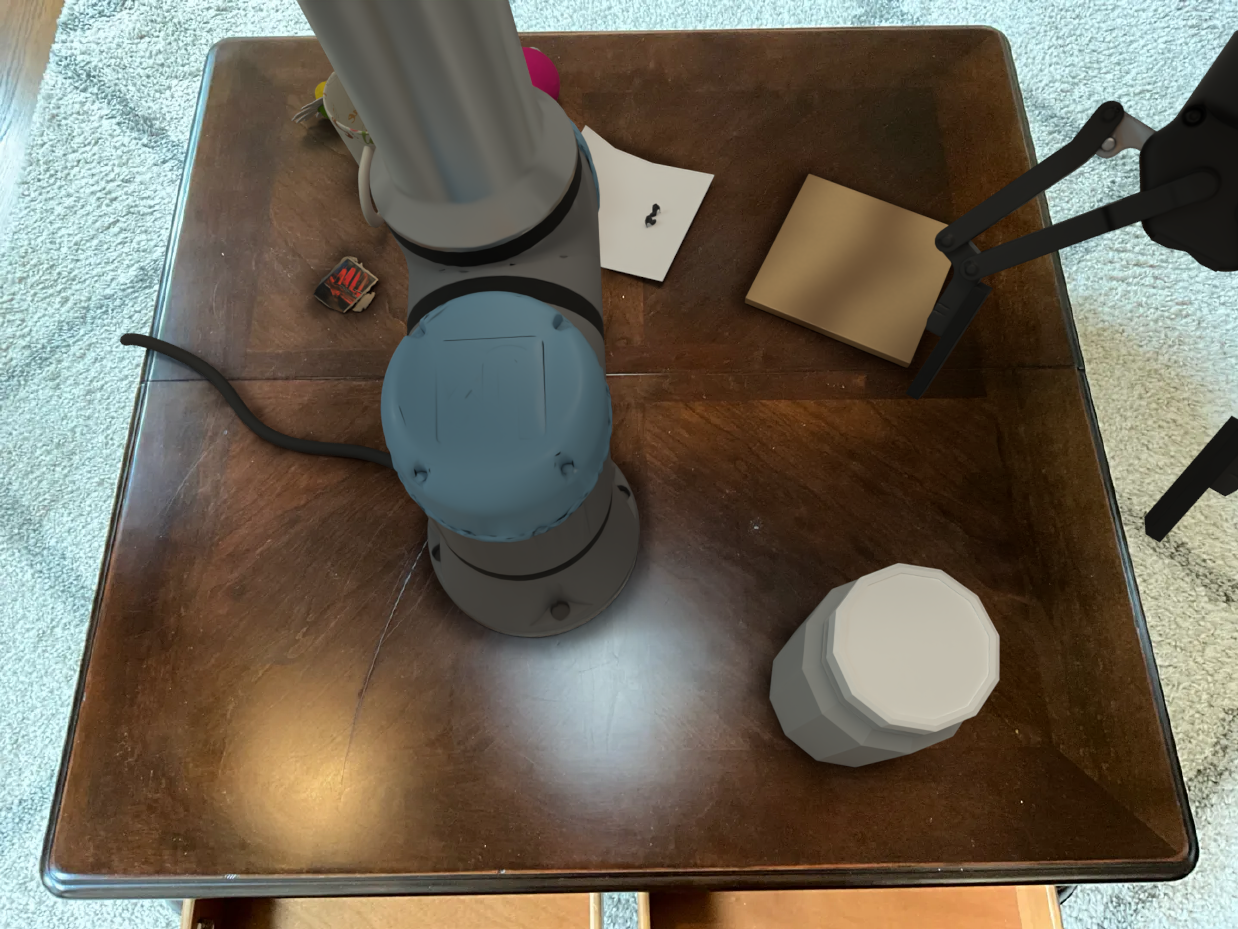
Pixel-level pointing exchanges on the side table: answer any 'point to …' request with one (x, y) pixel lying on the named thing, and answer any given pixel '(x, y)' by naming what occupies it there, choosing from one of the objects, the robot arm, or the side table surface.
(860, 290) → the cork mat
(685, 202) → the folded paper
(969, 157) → the side table surface
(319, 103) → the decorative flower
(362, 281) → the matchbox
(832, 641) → the jar
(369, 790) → the side table surface
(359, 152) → the mug
